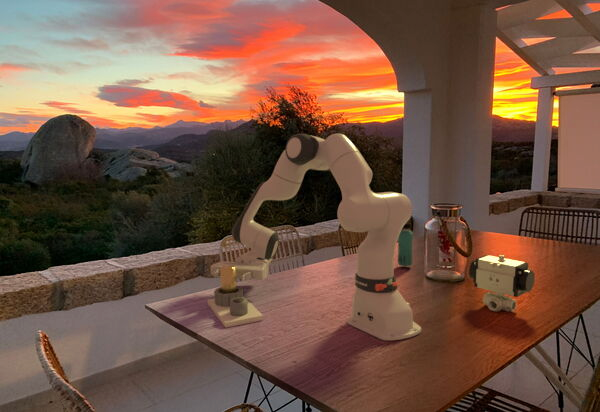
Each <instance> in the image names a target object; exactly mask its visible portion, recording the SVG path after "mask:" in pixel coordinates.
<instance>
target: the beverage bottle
mask: <svg viewBox="0 0 600 412" xmlns="http://www.w3.org/2000/svg"><path fill="white" fill-rule="evenodd" d="M411 224H412V223H410V222H406V223H405V225H404V226H403V228H402V230H401V232H400V234H399V237H398V240H397V245H398V246H397V248H398V249H397V264H398V265H399V266H400V267H401V266H402V267H410V266H413V257H414V256H413V255H414V254H413V253H414V249H413V244H414V240H413V239H414V233H413V232H412V230H410V229H411V228H412V226H411Z"/></svg>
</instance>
